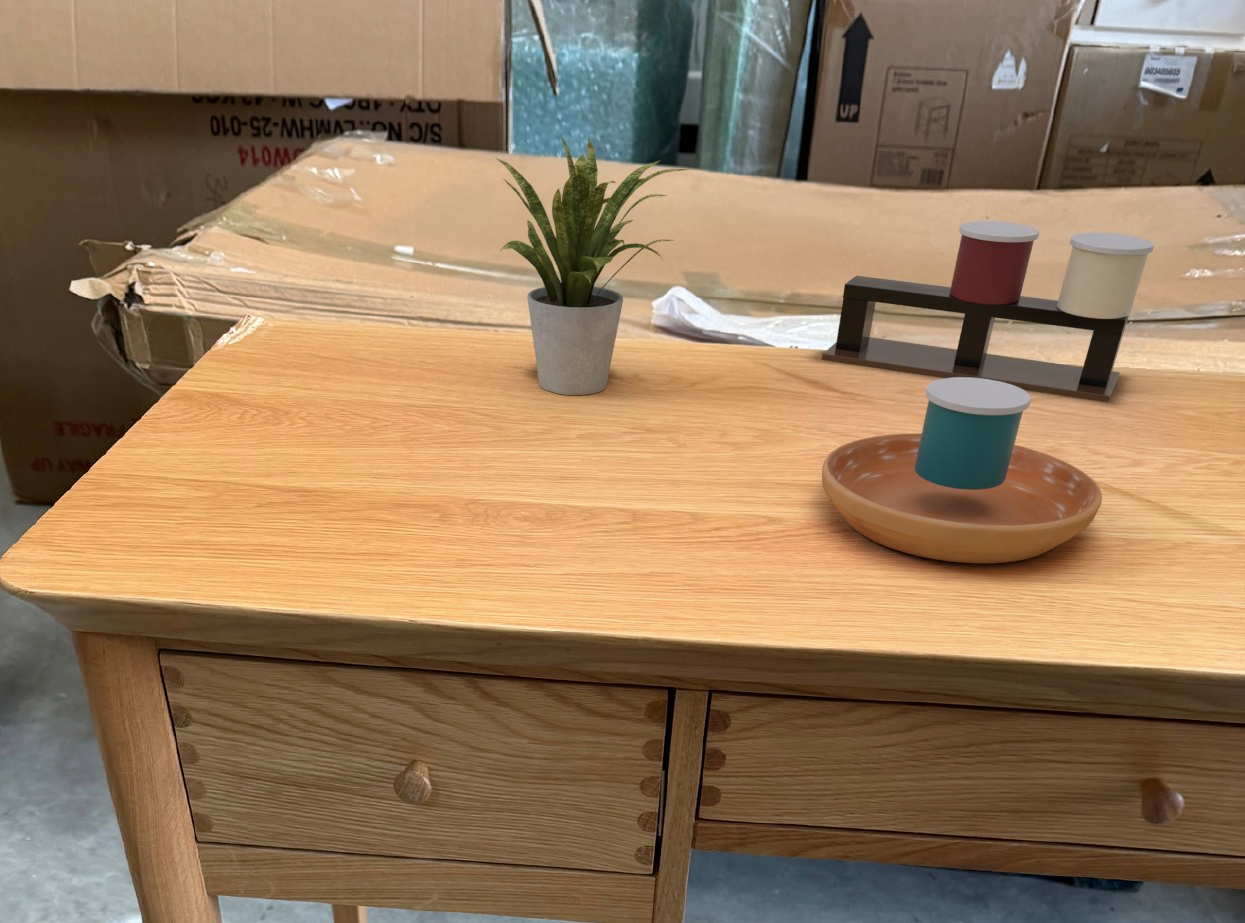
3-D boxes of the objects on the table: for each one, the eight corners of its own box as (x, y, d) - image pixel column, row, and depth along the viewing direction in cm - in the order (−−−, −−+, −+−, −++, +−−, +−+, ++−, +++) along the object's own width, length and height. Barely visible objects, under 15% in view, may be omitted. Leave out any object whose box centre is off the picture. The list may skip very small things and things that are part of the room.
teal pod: (1030, 479, 70) (1052, 397, 67) (964, 498, 68) (984, 414, 65) (955, 451, 74) (973, 371, 71) (889, 467, 71) (905, 386, 68)
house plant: (709, 408, 89) (735, 148, 78) (533, 426, 85) (536, 154, 74) (630, 356, 99) (643, 119, 88) (470, 370, 95) (464, 123, 84)
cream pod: (1149, 313, 89) (1171, 244, 86) (1101, 323, 87) (1122, 252, 84) (1085, 297, 93) (1103, 229, 90) (1037, 306, 90) (1054, 237, 87)
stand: (1104, 412, 90) (1130, 326, 86) (820, 369, 97) (832, 287, 93) (1115, 388, 95) (1140, 305, 91) (843, 348, 102) (855, 270, 98)
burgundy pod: (1038, 300, 92) (1055, 231, 89) (988, 309, 89) (1004, 239, 86) (980, 284, 95) (994, 218, 92) (930, 292, 93) (944, 225, 90)
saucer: (861, 459, 81) (869, 413, 79) (1108, 507, 75) (1123, 459, 73) (777, 541, 70) (784, 490, 68) (1058, 604, 64) (1075, 550, 62)
